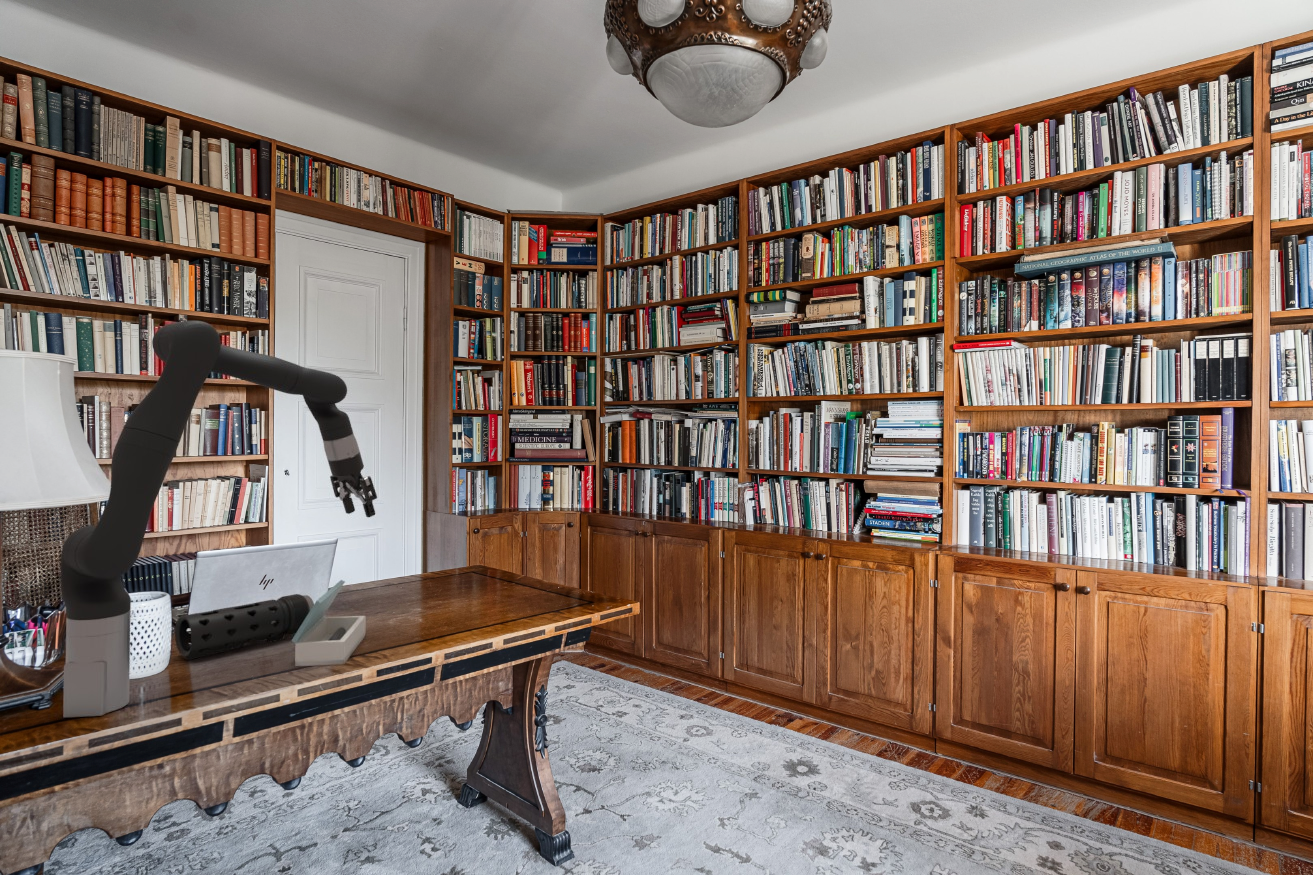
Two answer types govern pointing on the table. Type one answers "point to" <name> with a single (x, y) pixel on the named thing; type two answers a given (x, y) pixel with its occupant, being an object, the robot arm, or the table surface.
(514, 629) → the table surface
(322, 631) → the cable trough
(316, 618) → the trough lid
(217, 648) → the muzzle brake
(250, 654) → the table surface
